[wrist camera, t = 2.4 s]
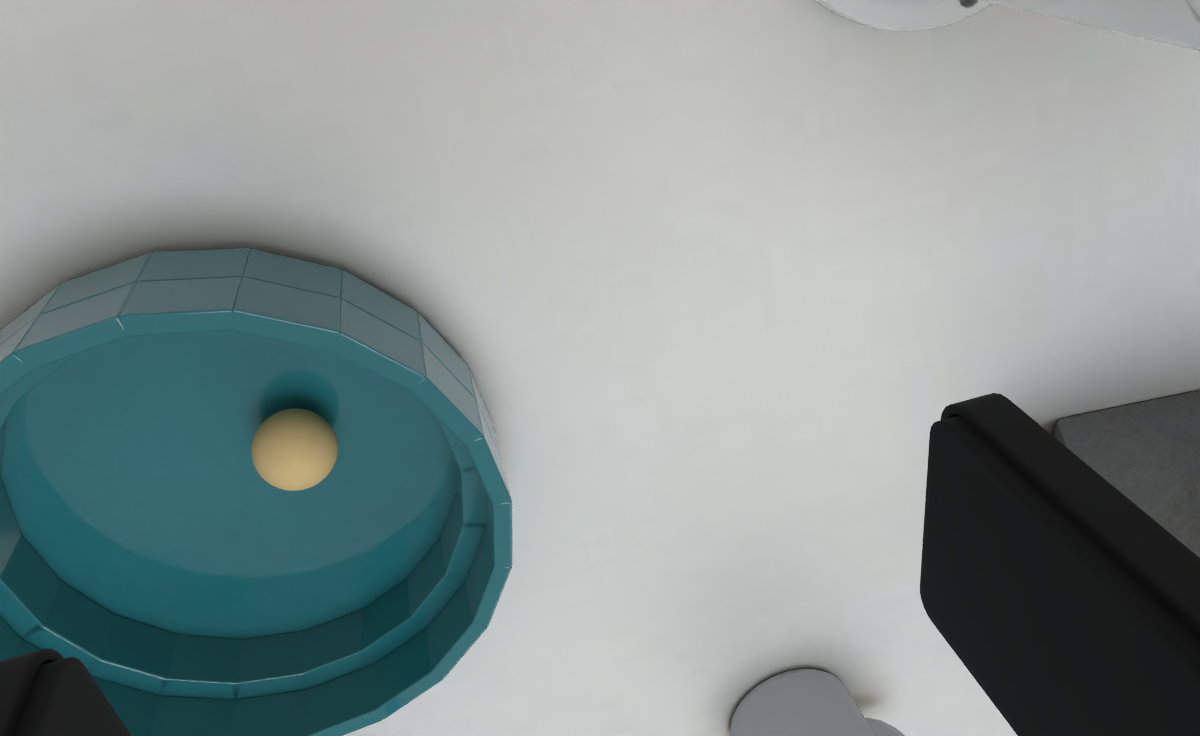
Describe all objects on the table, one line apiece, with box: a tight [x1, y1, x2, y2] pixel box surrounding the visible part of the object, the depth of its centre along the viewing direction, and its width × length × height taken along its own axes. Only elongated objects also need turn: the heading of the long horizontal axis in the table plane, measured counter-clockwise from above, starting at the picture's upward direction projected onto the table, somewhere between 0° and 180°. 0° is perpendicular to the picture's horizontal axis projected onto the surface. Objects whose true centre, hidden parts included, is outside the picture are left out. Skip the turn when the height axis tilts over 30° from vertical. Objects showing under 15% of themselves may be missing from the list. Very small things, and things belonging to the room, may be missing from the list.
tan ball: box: [251, 409, 338, 491], centre depth 32 cm, size 3×3×3 cm
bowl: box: [0, 248, 512, 736], centre depth 33 cm, size 19×19×6 cm
